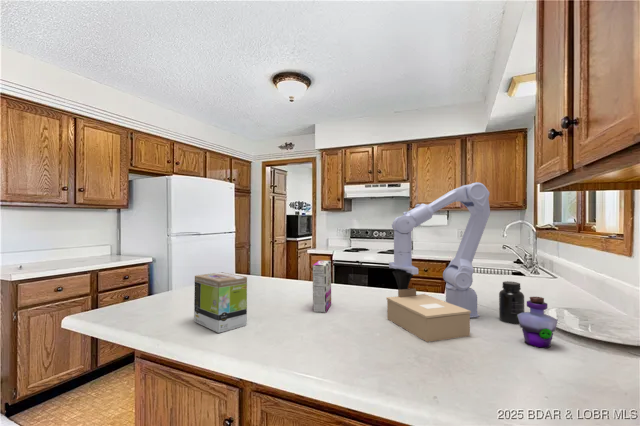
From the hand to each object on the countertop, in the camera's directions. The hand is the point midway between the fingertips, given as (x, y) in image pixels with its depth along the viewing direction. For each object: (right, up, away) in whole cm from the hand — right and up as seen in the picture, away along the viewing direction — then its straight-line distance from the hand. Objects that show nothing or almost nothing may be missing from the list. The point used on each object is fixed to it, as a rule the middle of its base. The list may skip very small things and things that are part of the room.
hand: (402, 292), depth 106 cm
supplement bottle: (+32, -8, -6) cm, 34 cm away
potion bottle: (+28, -7, -25) cm, 38 cm away
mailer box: (+4, -7, -11) cm, 14 cm away
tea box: (-58, -8, -9) cm, 59 cm away
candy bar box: (-27, -8, +8) cm, 29 cm away
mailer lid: (+4, -1, -11) cm, 12 cm away
